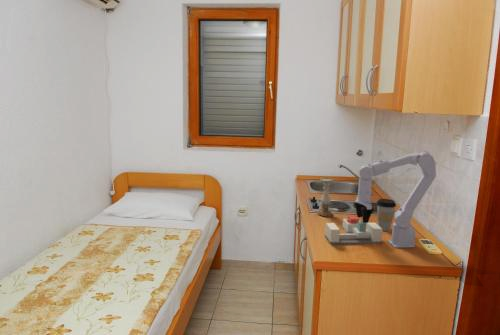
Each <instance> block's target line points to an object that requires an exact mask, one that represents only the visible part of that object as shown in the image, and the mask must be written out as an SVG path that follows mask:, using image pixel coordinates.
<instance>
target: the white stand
mask: <svg viewBox="0 0 500 335" xmlns="http://www.w3.org/2000/svg"><path fill="white" fill-rule="evenodd" d="M366 229H367V230H368V231H369V232H370V236H369V238H356V234H355V233H353V234H347V233H341V232H340V228H339V227H338V225H336V223H335V222H326V223H325V231H324V232H325V234H324V238H325V239H326V240H327V243H328V244H330V245H334V246H335V245H337V246H338V245H382V244H383V240H382V239H383V231H382V228H381V227H380V226H378V223H376V222H368V223H366Z"/></svg>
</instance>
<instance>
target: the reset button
mask: <svg viewBox="0 0 500 335" xmlns="http://www.w3.org/2000/svg"><path fill="white" fill-rule="evenodd" d="M347 219H348V221H347V222H348V223H349V224H358V221H359V220H360V217H357V216H356V215H354V216H353V215H352V216H351V215H349V216H347Z"/></svg>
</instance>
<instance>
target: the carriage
mask: <svg viewBox="0 0 500 335" xmlns="http://www.w3.org/2000/svg"><path fill="white" fill-rule="evenodd" d="M366 228H367V223H363V220H360V221H358V225H357V228H353V230H352V231H353V233H355V234H356V238H369V236H370V232H369V231H368V230H367V229H366Z"/></svg>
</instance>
